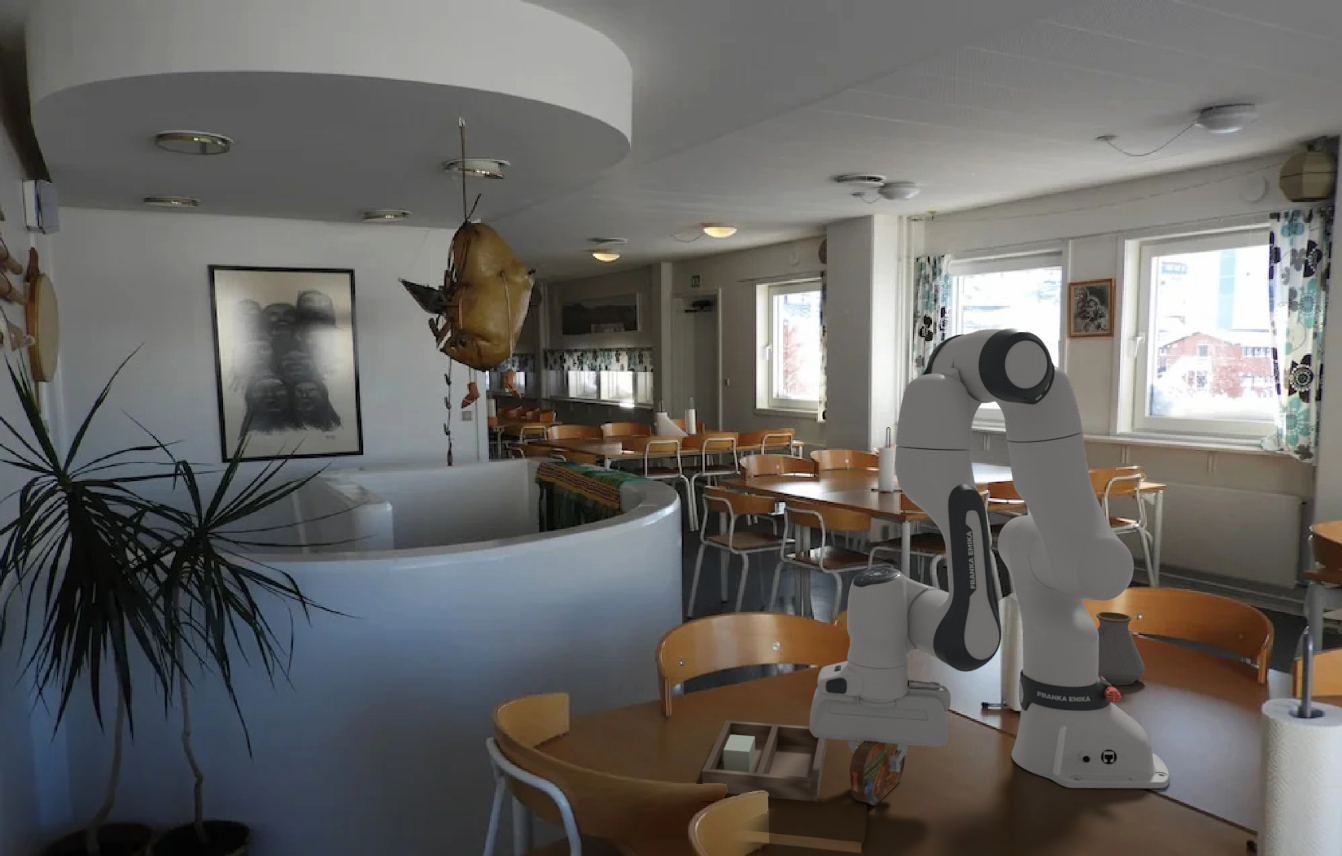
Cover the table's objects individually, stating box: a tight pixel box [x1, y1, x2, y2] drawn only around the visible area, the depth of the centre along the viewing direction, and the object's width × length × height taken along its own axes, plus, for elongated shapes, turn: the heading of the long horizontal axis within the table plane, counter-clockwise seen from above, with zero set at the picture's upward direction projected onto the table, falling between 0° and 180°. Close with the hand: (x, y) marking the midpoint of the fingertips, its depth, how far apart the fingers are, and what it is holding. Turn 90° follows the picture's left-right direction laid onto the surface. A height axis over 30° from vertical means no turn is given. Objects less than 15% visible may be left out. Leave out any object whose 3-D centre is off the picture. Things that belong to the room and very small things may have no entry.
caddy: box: [701, 719, 828, 803], centre depth 143 cm, size 17×20×4 cm
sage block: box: [724, 735, 755, 772], centre depth 144 cm, size 4×6×4 cm, turn 166°
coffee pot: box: [1095, 611, 1146, 686], centre depth 181 cm, size 21×12×15 cm, turn 105°
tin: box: [849, 741, 906, 807], centre depth 136 cm, size 15×3×8 cm, turn 143°
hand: (877, 768), depth 136 cm, fingers closed on tin, 3 cm apart
